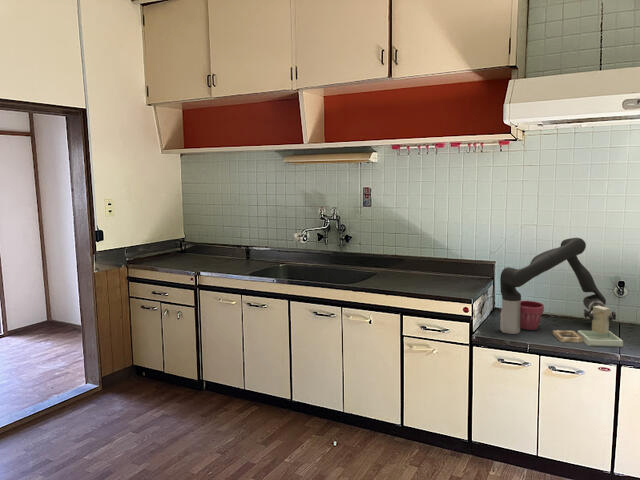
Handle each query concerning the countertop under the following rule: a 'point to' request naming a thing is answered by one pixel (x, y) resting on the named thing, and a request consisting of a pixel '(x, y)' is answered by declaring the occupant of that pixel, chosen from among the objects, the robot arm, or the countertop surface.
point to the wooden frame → (567, 339)
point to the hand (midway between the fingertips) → (601, 318)
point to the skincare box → (600, 319)
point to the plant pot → (530, 314)
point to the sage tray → (600, 339)
